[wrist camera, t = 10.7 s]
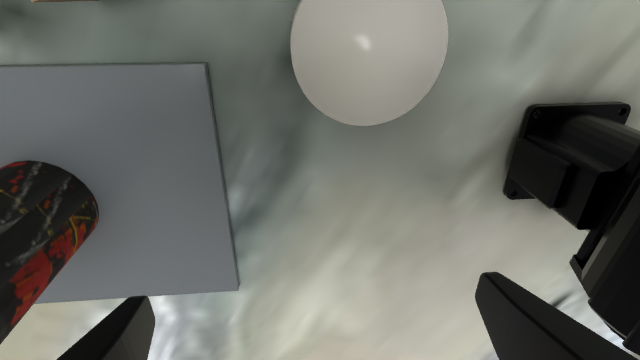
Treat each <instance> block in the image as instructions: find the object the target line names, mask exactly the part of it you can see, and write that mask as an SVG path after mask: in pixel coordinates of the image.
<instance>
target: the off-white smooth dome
mask: <svg viewBox="0 0 640 360" xmlns="http://www.w3.org/2000/svg"><path fill="white" fill-rule="evenodd" d="M447 46H448V23H447V16H446V13H445V9H444V6H443V3H442V1H441V0H300V1H299V3H298V5H297V7H296V10H295V12H294V15H293V19H292V23H291V30H290V47H291V58H292V65H293V69H294V73H295V76H296V78H297V81H298V84H299V85H300V87H301V89H302V91H303V93H304V94H305V96H306V97H307V98H308V100H309V101H310V102H311V103H312V104H313V105H314V106H315V107H316V108H317V109H318V110H319V111H321V112H322V113H323V114H325V115H327V116H328V117H330V118H332V119H334V120H336V121H338V122H342V123H345V124H349V125H355V126H371V125H378V124H382V123H386V122H389V121H391V120H394V119H396V118H398V117H400V116H402V115H404V114H405V113H407V112H408V111H410V110H411V109H412V108H414V107H415V106H416V105H417V104H418V103H419V102H420V101H421V100H422V99H423V98H424V97H425V96H426V95H427V93H428V92H429V91H430V90H431V88H432V87H433V85H434V83H435V82H436V80H437V78H438V76H439V74H440V72H441V70H442V67H443V64H444V61H445V57H446V52H447Z"/></svg>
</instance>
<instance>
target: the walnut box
mask: <svg viewBox="0 0 640 360" xmlns="http://www.w3.org/2000/svg"><path fill="white" fill-rule="evenodd" d="M62 1H98V0H31V2H62Z"/></svg>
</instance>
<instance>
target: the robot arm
mask: <svg viewBox="0 0 640 360" xmlns="http://www.w3.org/2000/svg"><path fill="white" fill-rule="evenodd" d="M620 110H621V111H620ZM630 110H631V107H630V105H628V104H625V103H622V102H611V103H574V104H537V105H532V106H531V107H529V108H528V110H527V112H526V114H525V118H524V121H523V125H522V128H521V132H520V136H519V139H518V141H517V144H516V148H515V151H514V155H513V159H512V162H511V166H510V169H509V173H508V178H507V182H506V185H505V189H504V195H505V196H506V197H507V198H509V199H512V200H515V199H535V198H536V199H537V200H538V201H540V202H541V203H542V204H543V205H545V206H546V207H547V208H549V209H553V210H554V211H556V212H557V213H558V214H559V215H561V216H562V217H563V218H564V219H566V220H567V221H568V222H569V223H571V224H572V225H573V226H574V227H576V228H577V229H579V230H587V231H589V233H588V235H587V237H586V238H585V240H584V242H583V244H582V245H581V247H580V249H579V251H578V252H577V254H575V255H573V257H572V259H571V260H570V262H569V263H570V265H571V267H572V269H573V270H574V272H575V274H576V276H577V277H578V279H579V281H580V283H581V284H582V286H583V288H584V290H585V291H586V293H587V295H588V296H589V300H588V303H589V305H590V307H591V308H592V310H593V311H594V312H595V313H596V314H597V315H598V316H599V317H600V318H601V319H602V320H603V321H604V323H605V324H606V325H607V326H608V327H609V328H610V329H611V330H612V331H613V332H614V333H616V334H617V335H618V336H619V337H621V338H622V339H623V340H624V341H623V343H622V344H623V346H624V347H625V348H626V349H628V350H630V351H632V352H634V353H636V354H638V355H640V131H638V130H636V129H633V128H630V127H628V126H625V123H626V120H627V118H628V116H629V113H630ZM536 111H538V113H537V115H535V116H534V113H535V112H536ZM619 111H620V112H619ZM513 190H514V192H513V193H511V192H512V191H513ZM475 300H476V303H477V306H478V308H479V311H480V314H481V316H482V319H483V321H484V324H485V326H486V329H487V331H488V334H489V336H490V339H491V341H492V344H493V347H494V349H495V351H496V354H497V356H498V358H499V360H638V359H637V358H635V357H633V356H632V355H630V354H629V353H627V352H625V351H624V350H622V349H621V348H619V347H617V346H616V345H614V344H613V343H611V342H609V341H608V340H606V339H604V338H603V337H601V336H600V335H598V334H596V333H595V332H593V331H592V330H590V329H588V328H587V327H585V326H584V325H582V324H580V323H579V322H577V321H576V320H574V319H572V318H571V317H569V316H568V315H566V314H564V313H563V312H561V311H560V310H558V309H556V308H555V307H553V306H551V305H550V304H548V303H547V302H545V301H543V300H542V299H540V298H539V297H537V296H535V295H534V294H532V293H531V292H529V291H527V290H526V289H524V288H523V287H521V286H519V285H518V284H516V283H515V282H513V281H511V280H510V279H508V278H507V277H505V276H503V275H502V274H500V273H498V272H485V273H482V274H481V276H480V279H479V282H478V286H477V289H476V293H475ZM154 328H155V316H154V313H153V310H152V307H151V303H150V300H149V298H148V297H147V296H145V295H142V296H131V297H129V298H127V299H126V300H125V301H124V302H123V303H122V304H120V305H119V306H118V307H117V308H116V309H115V310H113V311H112V312H111V313H110V314H109V315H108V316H106V317H105V318H104V319H103V320H102V321H101V322H100V323H98V324H97V325H96V326H95V327H94V328H93V329H91V330H90V331H89V332H88V333H87V334H86V335H84V336H83V337H82V338H81V339H80V340H79V341H78V342H76V343H75V344H74V345H73V346H72V347H71V348H69V349H68V350H67V351H66V352H65V353H64V354H62V355H61V356H60V357H59V358H58V359H57V360H147V358H148V354H149V349H150V345H151V341H152V336H153V332H154Z"/></svg>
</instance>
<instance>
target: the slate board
mask: <svg viewBox="0 0 640 360" xmlns="http://www.w3.org/2000/svg"><path fill="white" fill-rule="evenodd" d="M27 160H31V161H40V162H46V163H49V164H52V165H55V166H58V167H61V168H62V169H64V170H66V171H68V172H70V173H72V174H73V175H75V176H76V177H77V178H78V179H79V180H81V181H82V182H83V183H84V184H85V185H86V186H87V187H88V189H89V190H90V191H91V192H92V194H93V195H94V198H95V200H96V202H97V204H98V210H99V218H98V223H97V226H96V227H95V229H94V230H93V231H92V233H91V234H90V235H89V237H88V238H87V239H86V240H85V241H84V243H83V244H82V245H81V246H80V248H79V249H78V250H77V251H76V252H75V254H74V255H73V256H72V257H71V259H70V260H69V261H68V262H67V263H66V265H65V266H64V267H63V268H62V270H61V271H60V272H59V273H58V274H57V276H56V277H55V278H54V279H53V281H52V282H51V283H50V284H49V285H48V287H47V288H46V289H45V290H44V292H43V293H42V294H41V295H40V296H39V298H38V299H37V300H36V301H35V303H34V304H39V303H54V302H70V301H85V300H100V299H116V298H129V297H131V296H142V295H145V296H162V295H177V294H193V293H208V292H224V291H238V290H239V278H238V271H237V265H236V258H235V251H234V245H233V238H232V231H231V224H230V218H229V211H228V204H227V197H226V191H225V184H224V177H223V171H222V164H221V157H220V150H219V144H218V137H217V130H216V123H215V117H214V110H213V103H212V97H211V90H210V83H209V76H208V70H207V63H206V62H187V63H126V64H66V65H5V66H0V168H1V167H3V166H5V165H8V164H11V163H13V162H17V161H27Z"/></svg>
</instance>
